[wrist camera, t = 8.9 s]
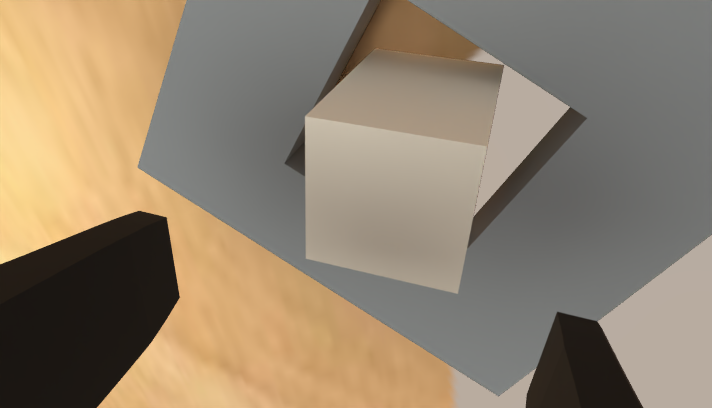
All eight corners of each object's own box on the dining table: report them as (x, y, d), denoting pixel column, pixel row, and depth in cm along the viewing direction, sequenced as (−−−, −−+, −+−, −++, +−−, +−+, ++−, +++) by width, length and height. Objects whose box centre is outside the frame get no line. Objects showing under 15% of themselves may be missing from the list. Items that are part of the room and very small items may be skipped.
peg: (503, 65, 16) (487, 146, 11) (480, 181, 18) (457, 293, 13) (375, 47, 16) (305, 116, 12) (367, 160, 19) (305, 258, 14)
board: (841, 76, 13) (883, 103, 12) (501, 357, 21) (498, 396, 20) (310, -280, 13) (276, -304, 11) (169, 145, 21) (137, 167, 19)
